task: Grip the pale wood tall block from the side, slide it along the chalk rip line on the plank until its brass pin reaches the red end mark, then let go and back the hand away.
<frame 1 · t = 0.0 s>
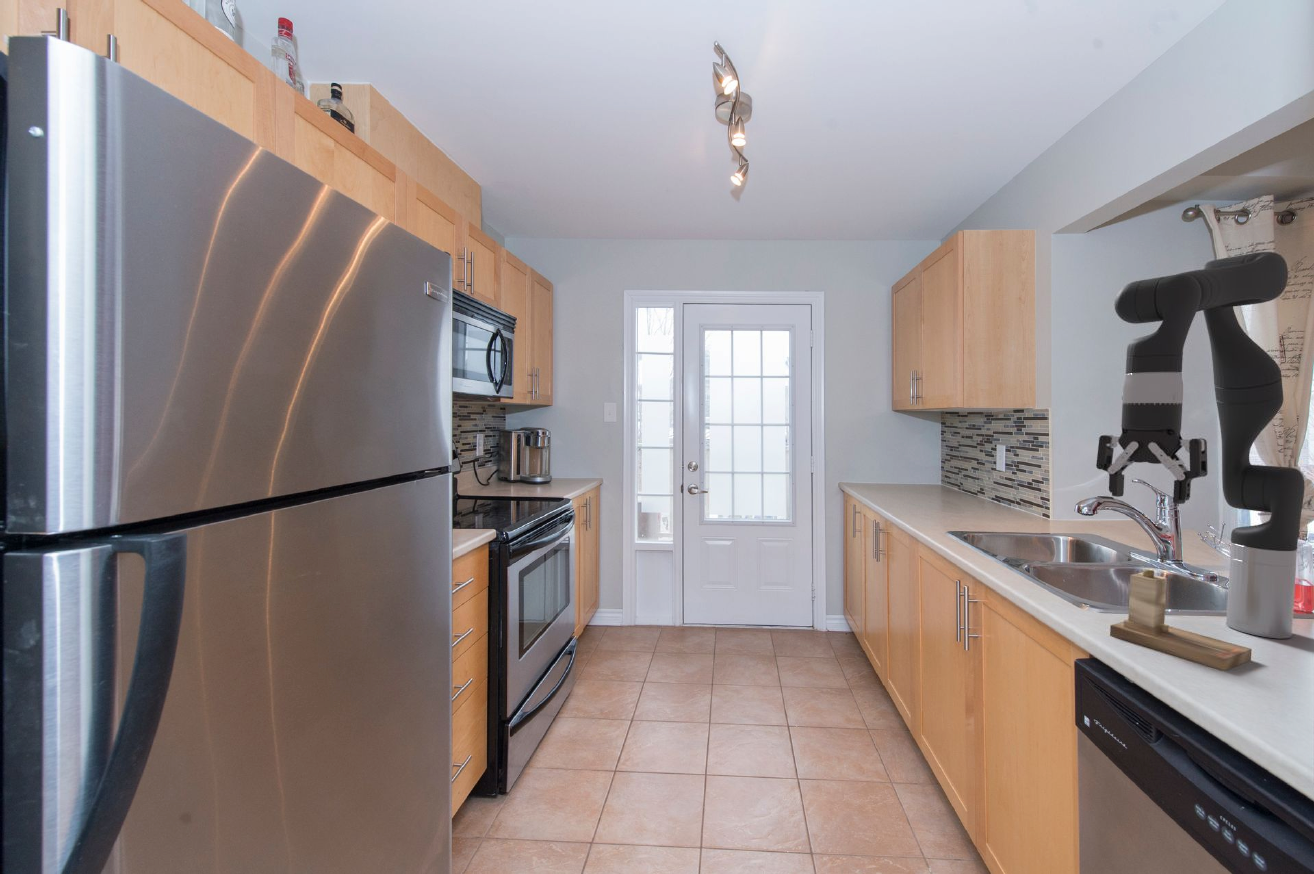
hand: (1147, 499, 97), 29 cm above the worktop, tool pointing down, fingers open, 8 cm apart
pale wood tall block: (1145, 629, 112), point 2 cm above the worktop, touching plank
plank: (1176, 647, 109), on the worktop
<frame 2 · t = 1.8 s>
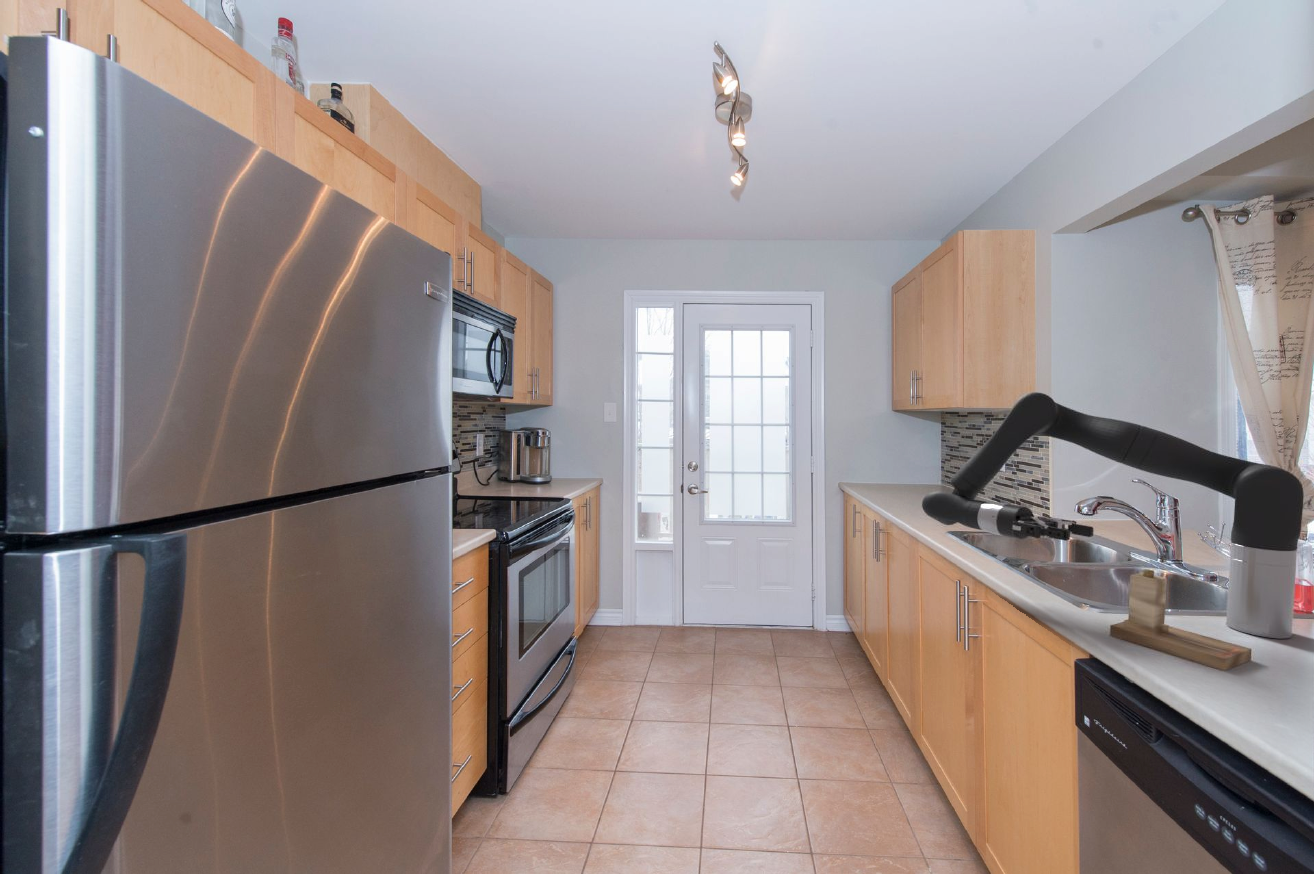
hand: (1081, 533, 122), 18 cm above the worktop, tool horizontal, fingers open, 8 cm apart
nothing on the worktop moved.
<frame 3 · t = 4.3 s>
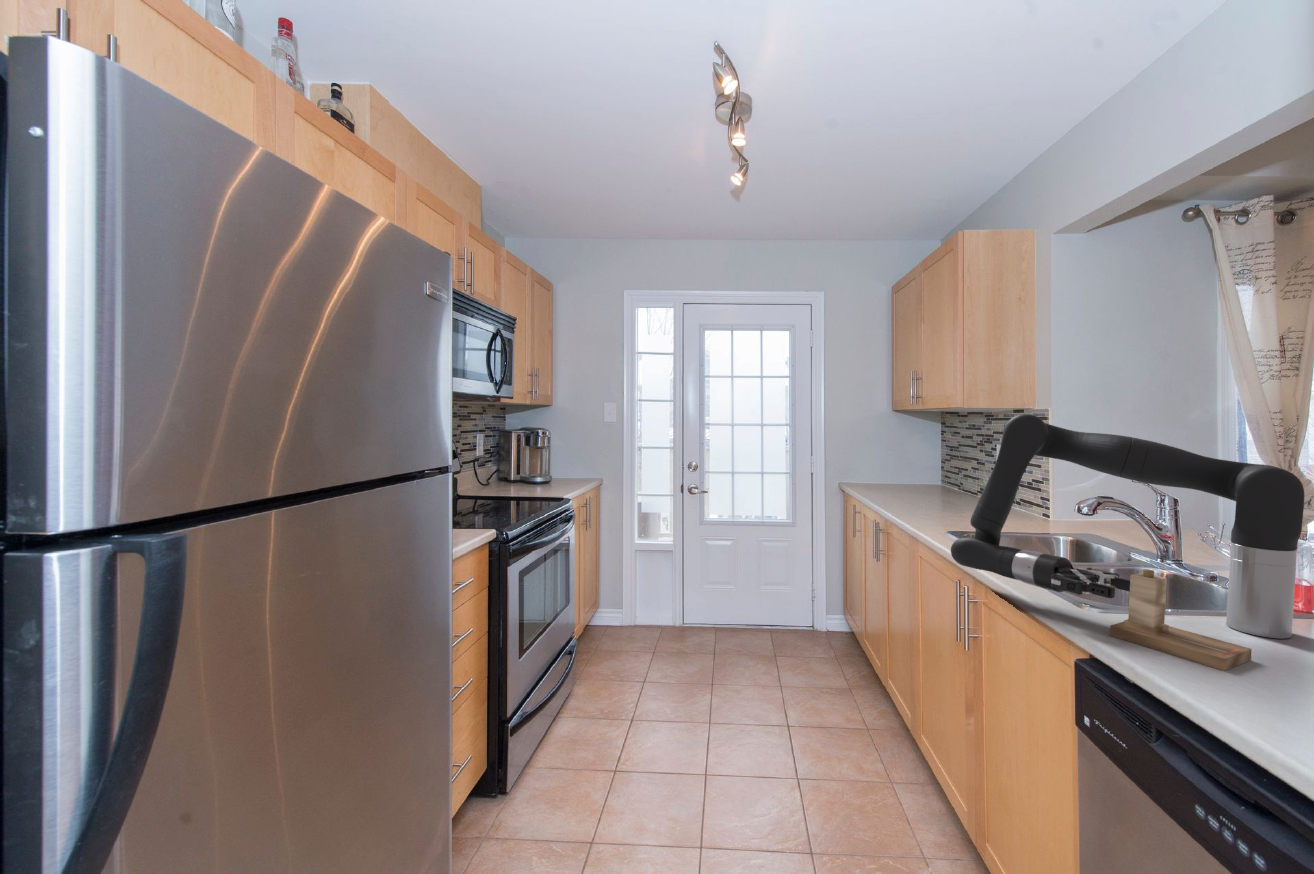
hand: (1126, 590, 115), 8 cm above the worktop, tool horizontal, fingers open, 8 cm apart
nothing on the worktop moved.
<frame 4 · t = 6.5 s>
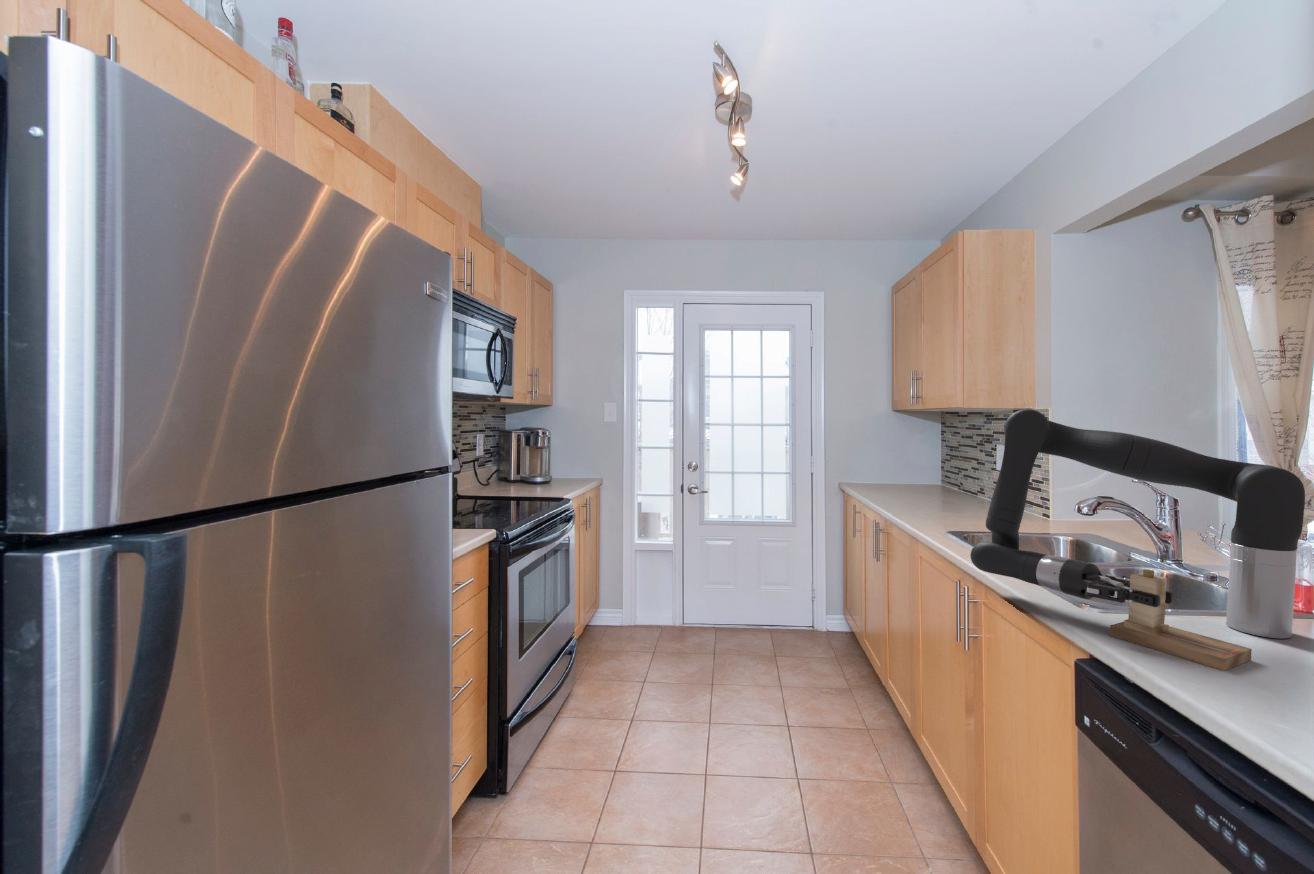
hand: (1165, 599, 109), 8 cm above the worktop, tool horizontal, fingers closed on pale wood tall block, 4 cm apart
pale wood tall block: (1145, 629, 112), point 2 cm above the worktop, touching gripper, plank
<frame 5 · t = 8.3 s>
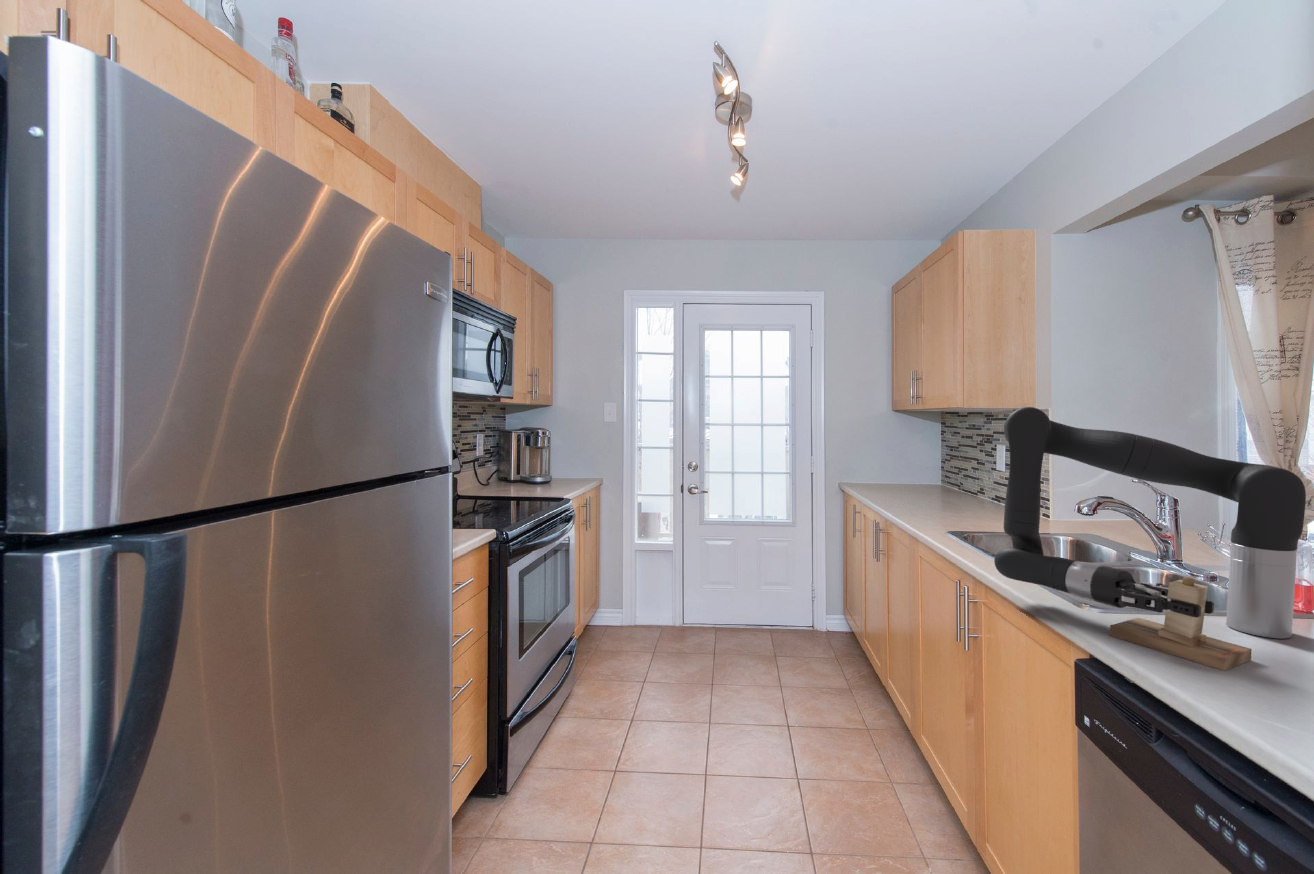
hand: (1205, 609, 104), 9 cm above the worktop, tool horizontal, fingers closed on pale wood tall block, 4 cm apart
pale wood tall block: (1181, 638, 107), point 2 cm above the worktop, touching gripper
when the fingers open (9 cm above the worktop, at t = 10.2 s): pale wood tall block stays where it is, resting on plank.
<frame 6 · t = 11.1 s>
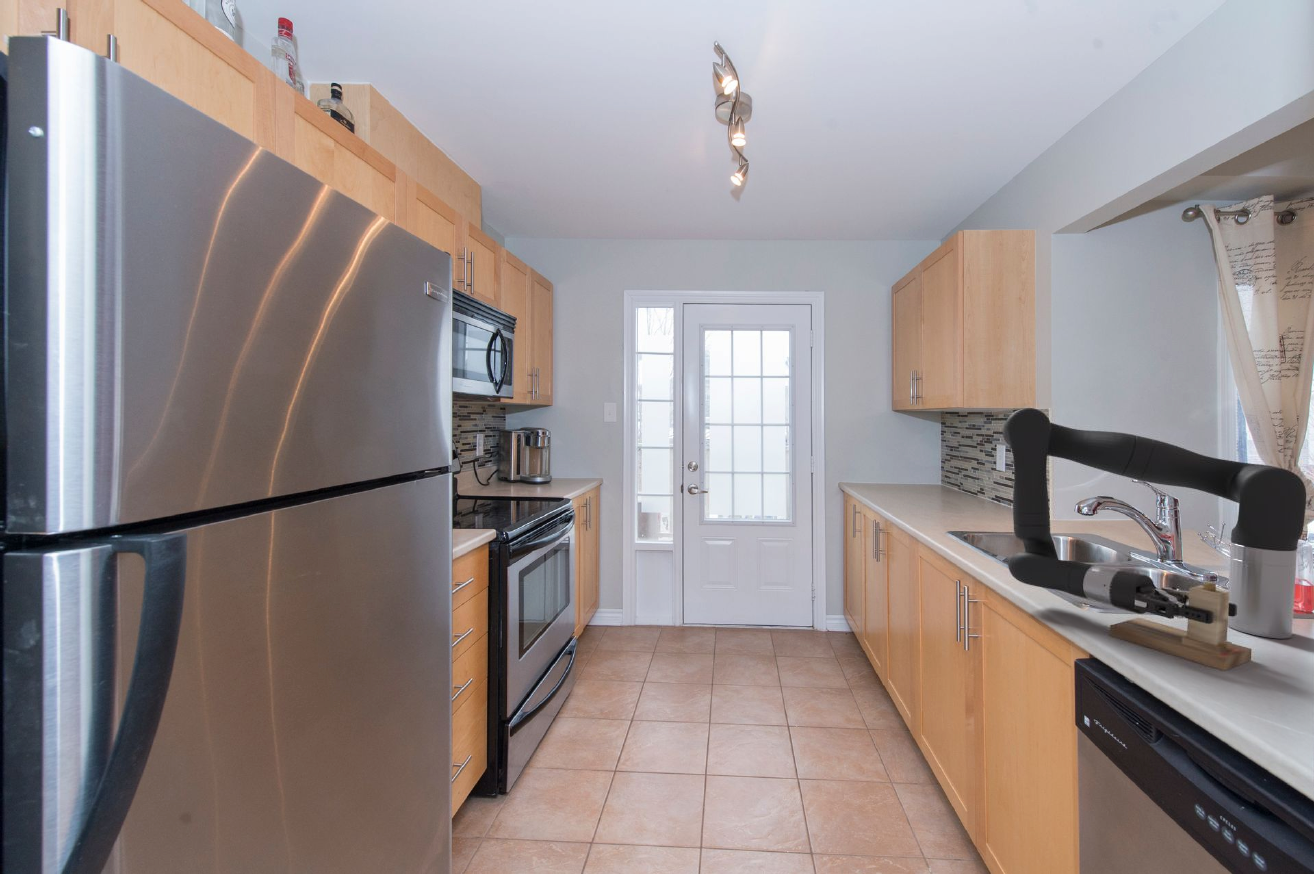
hand: (1224, 614, 102), 8 cm above the worktop, tool horizontal, fingers open, 8 cm apart
pale wood tall block: (1206, 646, 104), point 2 cm above the worktop, touching plank
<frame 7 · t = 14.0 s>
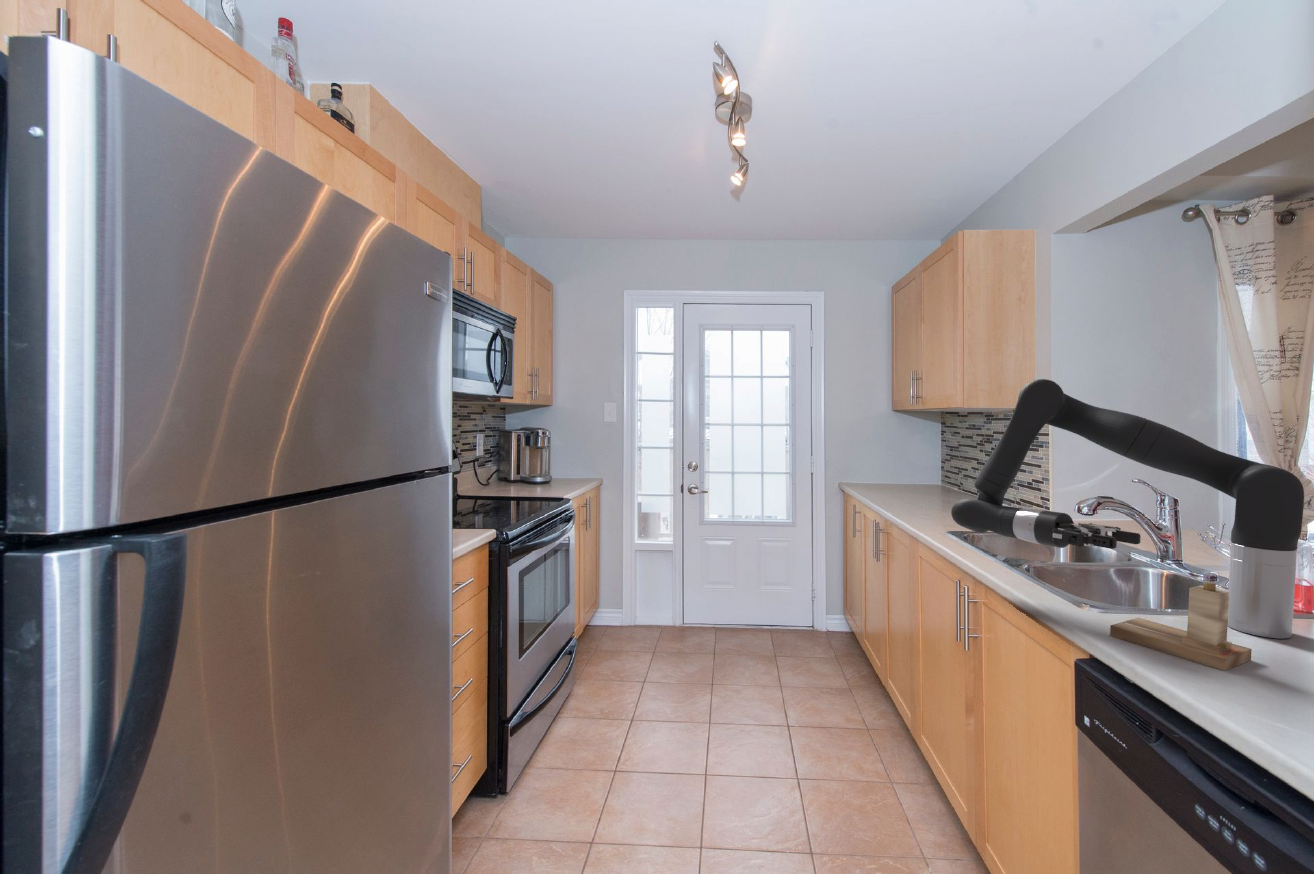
hand: (1127, 541, 115), 18 cm above the worktop, tool horizontal, fingers open, 8 cm apart
nothing on the worktop moved.
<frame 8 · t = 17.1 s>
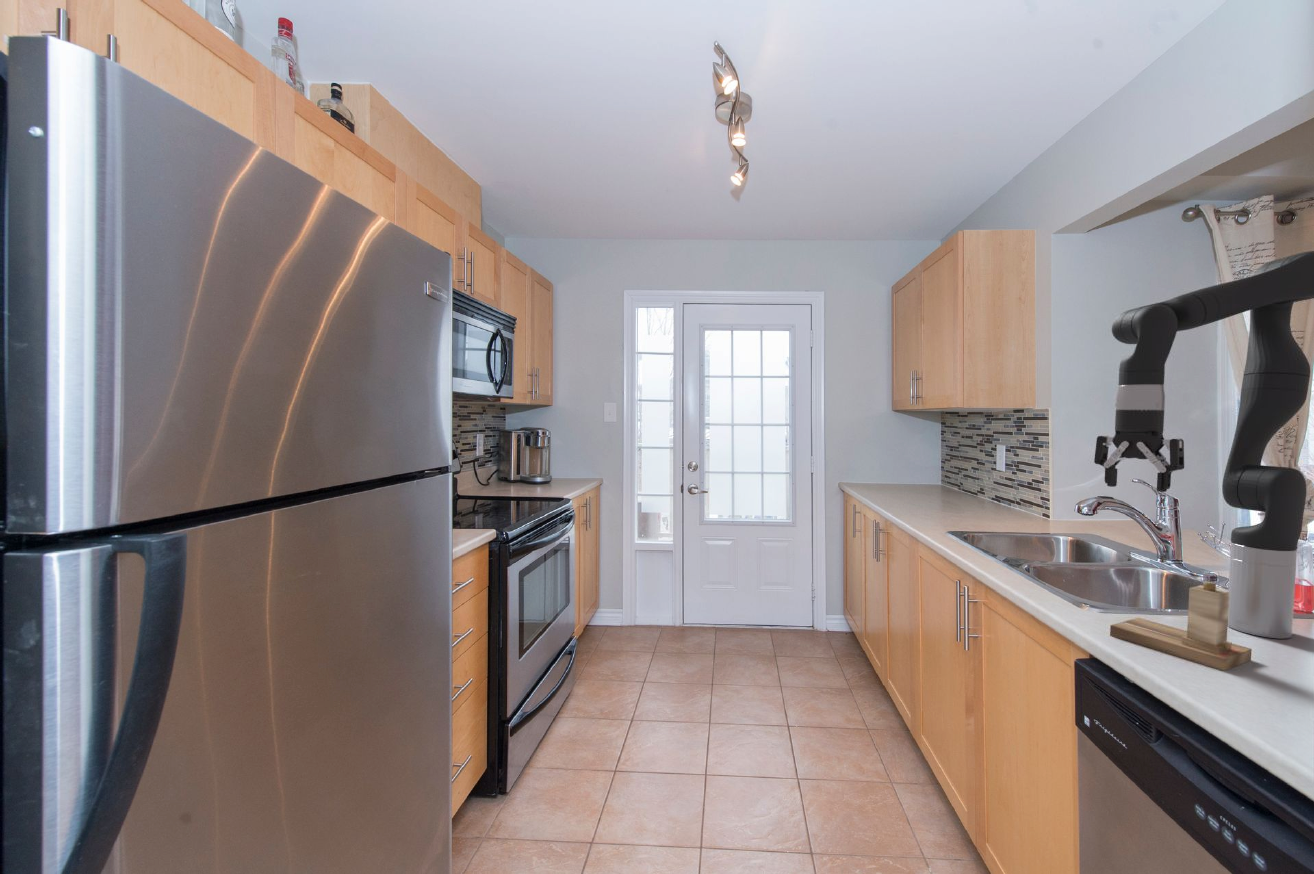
hand: (1135, 488, 118), 28 cm above the worktop, tool pointing down, fingers open, 8 cm apart
nothing on the worktop moved.
at the end: pale wood tall block 0.8 cm from the target spot, point 2.0 cm above the worktop; pale wood tall block tilted 0°; the gripper is holding nothing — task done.
